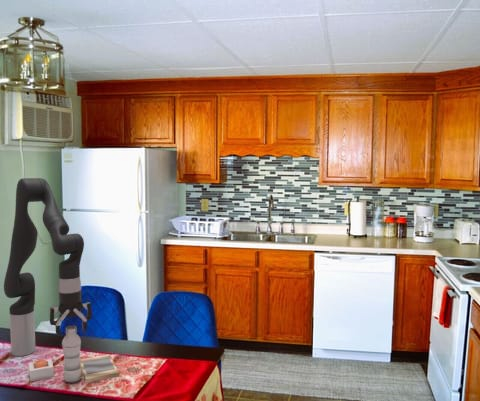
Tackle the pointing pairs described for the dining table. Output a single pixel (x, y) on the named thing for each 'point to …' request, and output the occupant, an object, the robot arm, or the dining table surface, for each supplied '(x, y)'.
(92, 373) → the board
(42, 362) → the button cap
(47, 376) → the button housing
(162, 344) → the dining table surface
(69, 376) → the plastic bottle
